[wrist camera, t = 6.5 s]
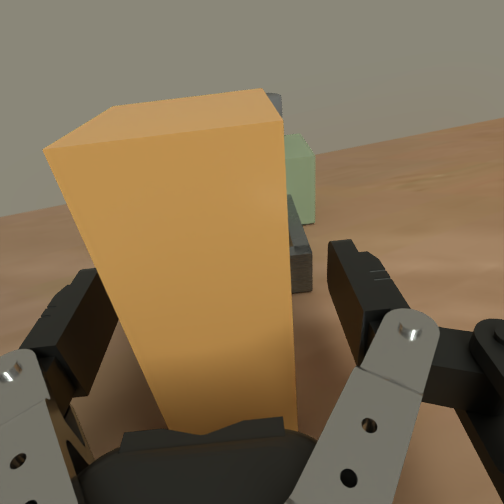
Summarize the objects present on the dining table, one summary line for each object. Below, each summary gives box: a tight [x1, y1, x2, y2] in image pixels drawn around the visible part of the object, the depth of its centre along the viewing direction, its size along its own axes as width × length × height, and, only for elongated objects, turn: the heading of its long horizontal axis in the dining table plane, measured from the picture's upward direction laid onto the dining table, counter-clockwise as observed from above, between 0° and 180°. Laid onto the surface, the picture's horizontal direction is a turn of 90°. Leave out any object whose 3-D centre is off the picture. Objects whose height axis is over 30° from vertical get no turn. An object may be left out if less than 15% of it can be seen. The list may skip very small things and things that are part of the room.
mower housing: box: [266, 93, 315, 224], centre depth 29 cm, size 14×7×10 cm, turn 93°
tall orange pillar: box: [43, 88, 298, 435], centre depth 12 cm, size 5×5×13 cm
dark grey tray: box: [287, 194, 312, 293], centre depth 25 cm, size 10×9×3 cm
